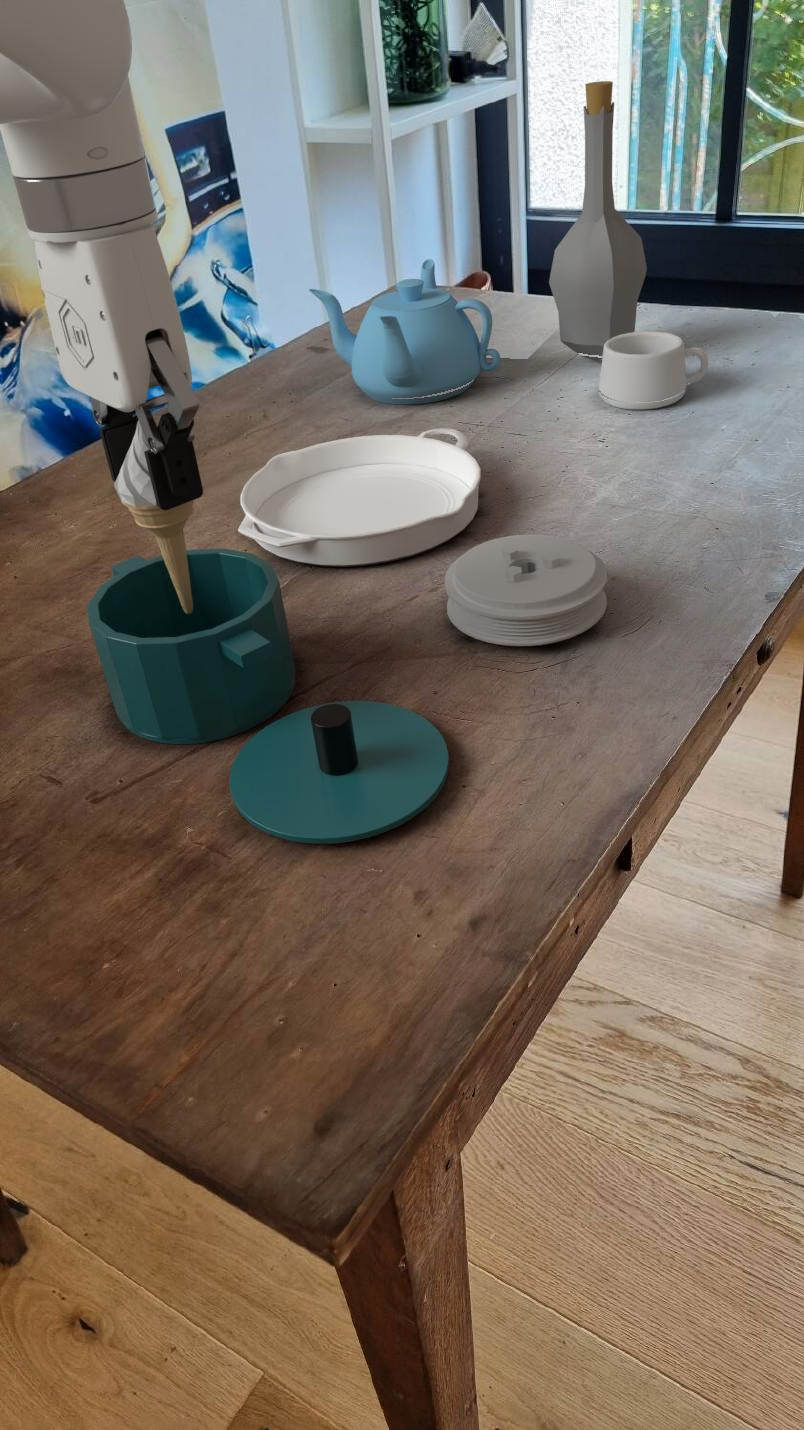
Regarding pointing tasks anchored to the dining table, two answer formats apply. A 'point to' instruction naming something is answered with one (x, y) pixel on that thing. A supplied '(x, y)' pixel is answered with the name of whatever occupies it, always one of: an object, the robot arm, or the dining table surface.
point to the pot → (194, 646)
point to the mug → (646, 369)
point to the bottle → (597, 247)
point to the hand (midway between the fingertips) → (157, 487)
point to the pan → (362, 499)
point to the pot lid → (339, 772)
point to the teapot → (413, 342)
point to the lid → (526, 590)
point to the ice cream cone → (156, 515)
